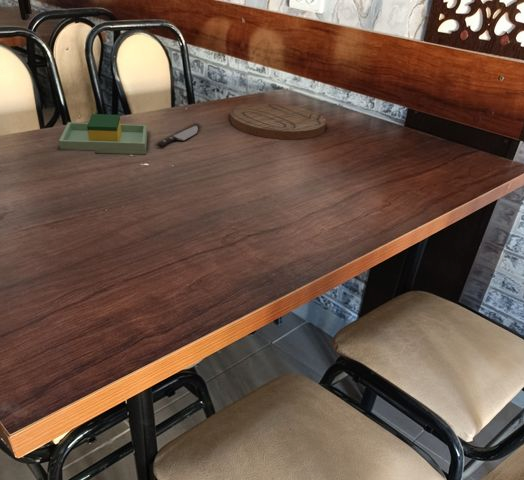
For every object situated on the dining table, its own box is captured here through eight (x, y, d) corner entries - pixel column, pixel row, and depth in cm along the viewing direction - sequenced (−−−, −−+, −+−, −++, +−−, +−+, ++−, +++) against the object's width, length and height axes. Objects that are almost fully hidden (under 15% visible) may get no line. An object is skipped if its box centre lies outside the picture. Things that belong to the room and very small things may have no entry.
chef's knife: (207, 129, 125) (196, 126, 126) (207, 124, 124) (196, 121, 125) (168, 150, 111) (156, 147, 112) (168, 145, 110) (156, 142, 111)
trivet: (275, 106, 146) (276, 98, 145) (344, 129, 134) (345, 121, 133) (210, 118, 132) (210, 111, 131) (280, 146, 119) (281, 137, 118)
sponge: (89, 145, 108) (87, 126, 105) (94, 132, 114) (91, 113, 112) (118, 146, 108) (116, 127, 106) (121, 133, 115) (119, 114, 113)
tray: (60, 152, 106) (58, 140, 104) (69, 132, 115) (67, 122, 114) (145, 154, 108) (144, 143, 107) (147, 135, 118) (146, 124, 117)
